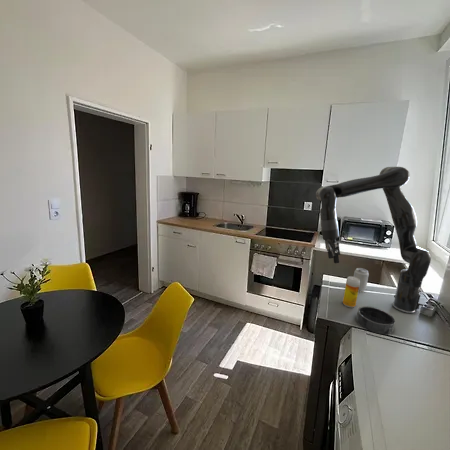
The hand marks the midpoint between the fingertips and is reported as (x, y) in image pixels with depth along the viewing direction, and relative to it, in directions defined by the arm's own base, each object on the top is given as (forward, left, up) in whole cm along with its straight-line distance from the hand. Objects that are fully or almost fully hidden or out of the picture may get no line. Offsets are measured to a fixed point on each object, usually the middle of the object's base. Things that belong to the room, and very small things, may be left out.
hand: (333, 260), depth 119 cm
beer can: (-13, -1, -25) cm, 28 cm away
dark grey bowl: (-15, +15, -25) cm, 33 cm away
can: (-31, -19, -25) cm, 44 cm away
